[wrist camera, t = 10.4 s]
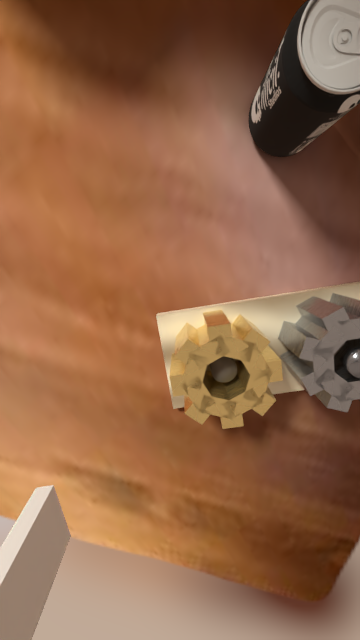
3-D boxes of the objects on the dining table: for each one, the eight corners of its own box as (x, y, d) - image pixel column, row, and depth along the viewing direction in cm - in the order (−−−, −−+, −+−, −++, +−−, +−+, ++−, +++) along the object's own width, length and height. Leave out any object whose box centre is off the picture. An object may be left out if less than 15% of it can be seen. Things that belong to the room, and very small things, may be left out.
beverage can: (248, 81, 28) (296, -39, 16) (319, 81, 28) (419, -40, 16) (245, 159, 29) (286, 101, 18) (312, 159, 29) (399, 100, 18)
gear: (262, 325, 32) (283, 346, 25) (348, 275, 31) (396, 283, 24) (304, 398, 34) (334, 436, 27) (387, 354, 33) (441, 382, 26)
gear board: (157, 313, 33) (152, 325, 28) (369, 279, 32) (405, 285, 27) (173, 403, 35) (172, 429, 30) (371, 375, 34) (403, 396, 29)
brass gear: (165, 318, 32) (161, 334, 26) (259, 303, 31) (277, 316, 26) (180, 403, 34) (180, 435, 28) (268, 390, 34) (286, 420, 28)
